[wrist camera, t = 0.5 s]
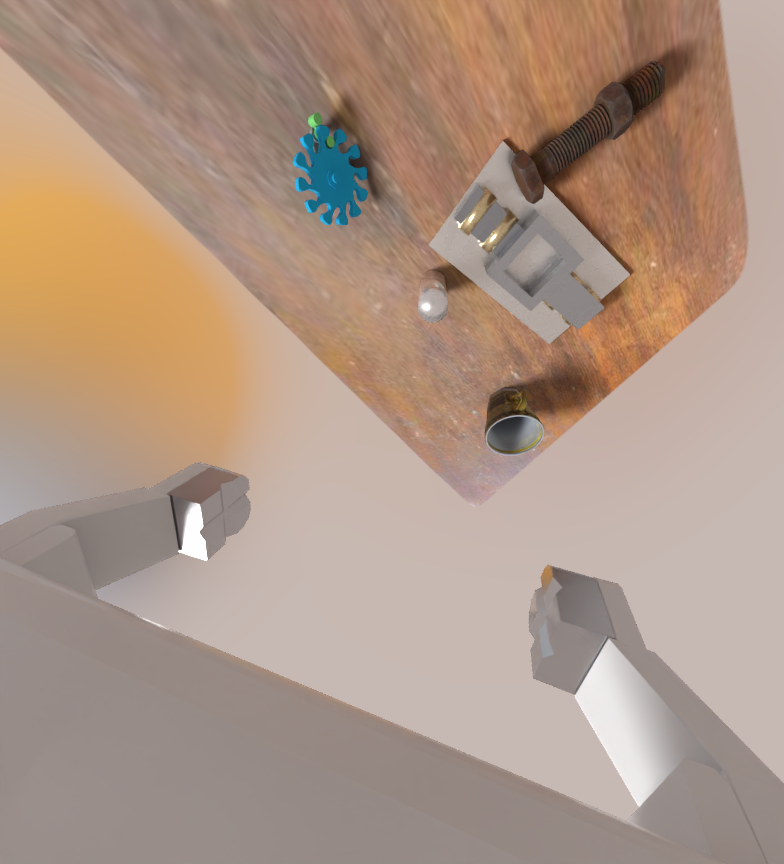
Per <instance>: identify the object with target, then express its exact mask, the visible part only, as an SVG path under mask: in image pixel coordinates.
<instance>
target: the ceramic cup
mask: <svg viewBox="0 0 784 864" xmlns="http://www.w3.org/2000/svg"><path fill="white" fill-rule="evenodd" d="M543 436H544V427H543V425H542V423H541V422H540V420H539V418H538V417H537V416H536V414H535V413H534V412H533V411H532V409H531V408H530V406H529V405H528V403H527V402H526V395H525V392H523V391H520V392H518V391H517V390H516V389H515V388H502V389H500V390H498V391H497V392H495V393H494V394H492V395H491V396H490V399H489V403H488V409H487V422H486V427H485V442H486V445H487V446H488V448H489V449H490V450H492V451H493V452H495V453H498V454H501V455H507V456H512V455H520V454H523V453H526V452H528V451H530V450H532V449H534V448H535V447H536V446H537V445H538V444H539V443H540V442H541V441H542V439H543Z"/></svg>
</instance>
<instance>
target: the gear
mask: <svg viewBox="0 0 784 864" xmlns="http://www.w3.org/2000/svg"><path fill="white" fill-rule="evenodd" d="M308 122H309V125H310V126H311V128H310V130H309V134H307V135H305V136H303V137H302V138H300V141H301V144H302V146H303V147H304V148H305V149H306V150H307V152H308V154H309V157H310V160H311V167H309V166H308V165H307V162H306V158H305V156H304V154H303V153H301V152H299V153H297V154H296V155H295V157H294V159H293V164H294V166H296V167H297V168H301V169H302V170H304V171H305V172H306V173H307V174H308V176H309V177H310V179H311V185H309V184H308V183H307V181H306V180H305V179H304V178H302V177H299V178H297V179H296V181H295V185H296V190H297V191H299V192H302V191H305V190H310V191H312V192H314V193H316V195H317V201H314V200H312V199H311V200H307V201H306V202H305V206H306V208H307V210H308V212H309V213H312V212H315V211H316V210H317V208H318V207H319V206H320V205H321V204H323V203H325V204H326V205H327V206H328V211H327V212H326V213H323V214H321V216H320V220H321V221H322V222H323V223H324V224H326V225H330V224H331V223H332V215H333V212H334V210H335V209H336V207H338V208H339V210H340V214H339V215H338V216H337V218H336V223H337V224H338V225H347V224H348V219H347V216H346V204H347V201H348V202H349V204H350V210H349V214H350V216H351V217H357V216H358V215H360V214H361V210H360V208H359V207H358V206H357V204H356V203H355V200H354V196H353V190H355V192H356V195H357V199H358V200H359V201H360V202H362V201H365V200H366V198H367V195H368V192H367V190H365V189H362V188H361V187H359V186H358V184H357V183H356V181H355V180H354V174H356V176H357V178H358V179H359V180H365V179H367V168H366V167H361V168H355V167H353V166H351V165H350V164H349V161H348V159H349V157H350V158H351V159H357V158H359V157H360V151H359V149H358V146H357V145H353V146H351V147H350V148H349V149H348V151H347V152H346V153H345V154H342V153H340V152H339V150H338V145H339V144H341V143H344V142H345V141H346V139H347V136H346V134H345V133H344V132H343V131H342V130H341V129H338V130H336V131H335V132H334V139H333V138H332V137H331V136H329V128H328V127H326V126H323V125H320V124H321V123H322V117H321V115H320V114H319V113H314V114H313V115H311V116H310V117H309V119H308ZM329 148H330V149H329Z"/></svg>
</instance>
